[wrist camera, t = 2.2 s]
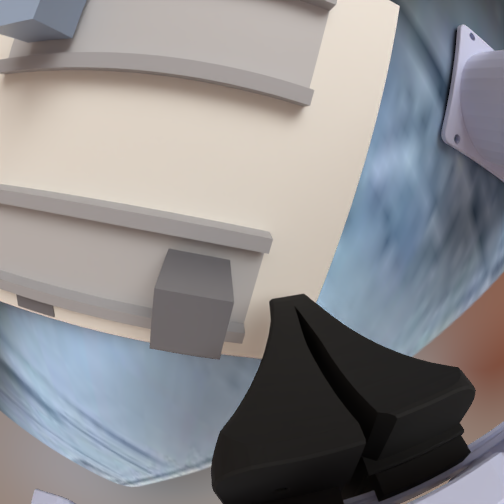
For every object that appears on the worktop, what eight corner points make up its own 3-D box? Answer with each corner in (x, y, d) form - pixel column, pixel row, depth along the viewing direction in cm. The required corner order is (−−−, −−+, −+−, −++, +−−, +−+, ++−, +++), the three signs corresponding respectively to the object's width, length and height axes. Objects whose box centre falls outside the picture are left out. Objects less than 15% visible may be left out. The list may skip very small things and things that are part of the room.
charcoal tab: (230, 259, 12) (234, 302, 9) (218, 310, 12) (219, 359, 10) (168, 248, 11) (154, 288, 8) (162, 300, 12) (149, 348, 9)
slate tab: (92, -13, 6) (61, -43, 4) (72, 38, 7) (33, 18, 5) (46, -6, 6) (10, -28, 3) (27, 42, 7) (-15, 30, 4)
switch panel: (378, 17, 10) (409, 1, 7) (283, 337, 16) (294, 372, 14) (27, -22, 6) (2, -37, 4) (-14, 273, 13) (-38, 295, 10)
